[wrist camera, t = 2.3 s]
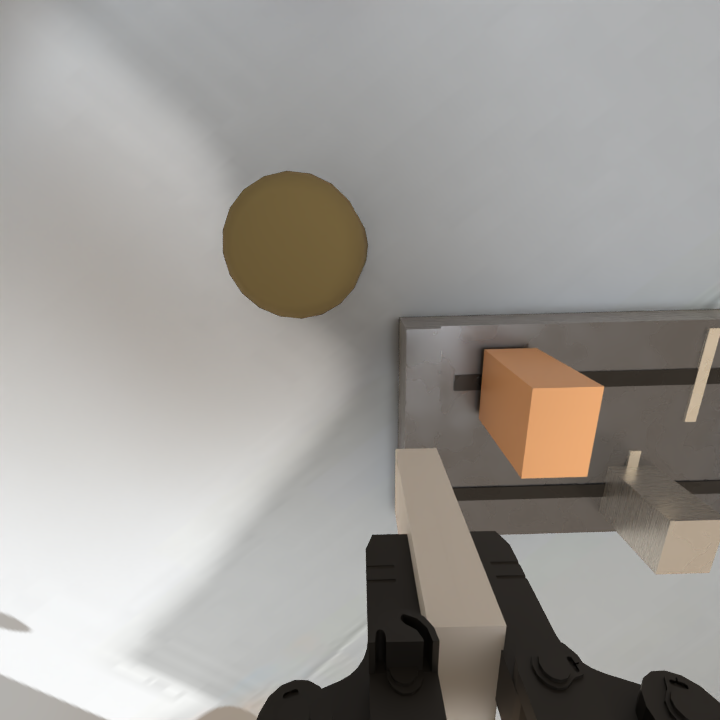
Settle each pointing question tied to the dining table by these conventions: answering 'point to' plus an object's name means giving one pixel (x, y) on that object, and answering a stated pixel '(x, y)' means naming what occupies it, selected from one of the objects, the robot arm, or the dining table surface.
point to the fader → (539, 412)
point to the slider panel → (613, 433)
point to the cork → (294, 244)
